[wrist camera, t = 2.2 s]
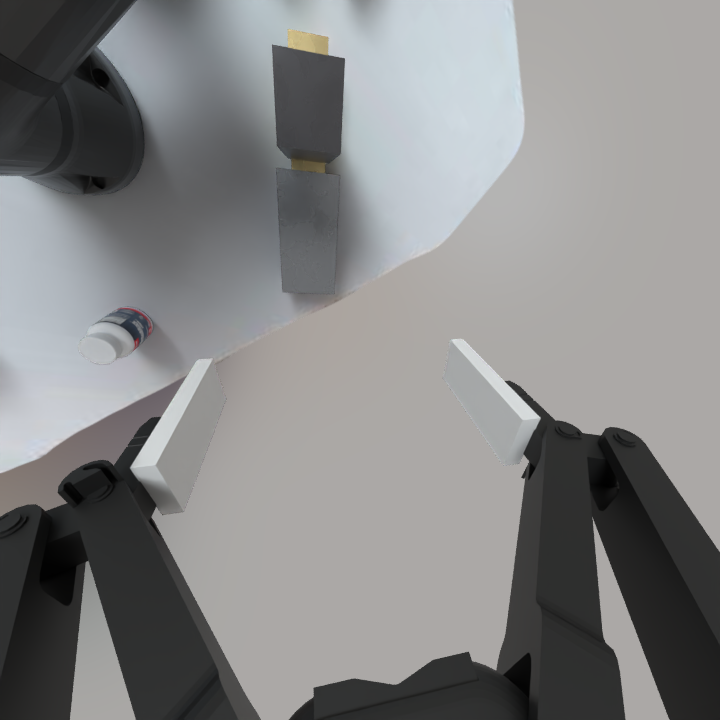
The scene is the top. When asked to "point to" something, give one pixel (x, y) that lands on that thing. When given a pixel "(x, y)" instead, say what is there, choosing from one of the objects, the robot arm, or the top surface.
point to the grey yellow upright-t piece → (308, 101)
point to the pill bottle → (115, 335)
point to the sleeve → (308, 230)
